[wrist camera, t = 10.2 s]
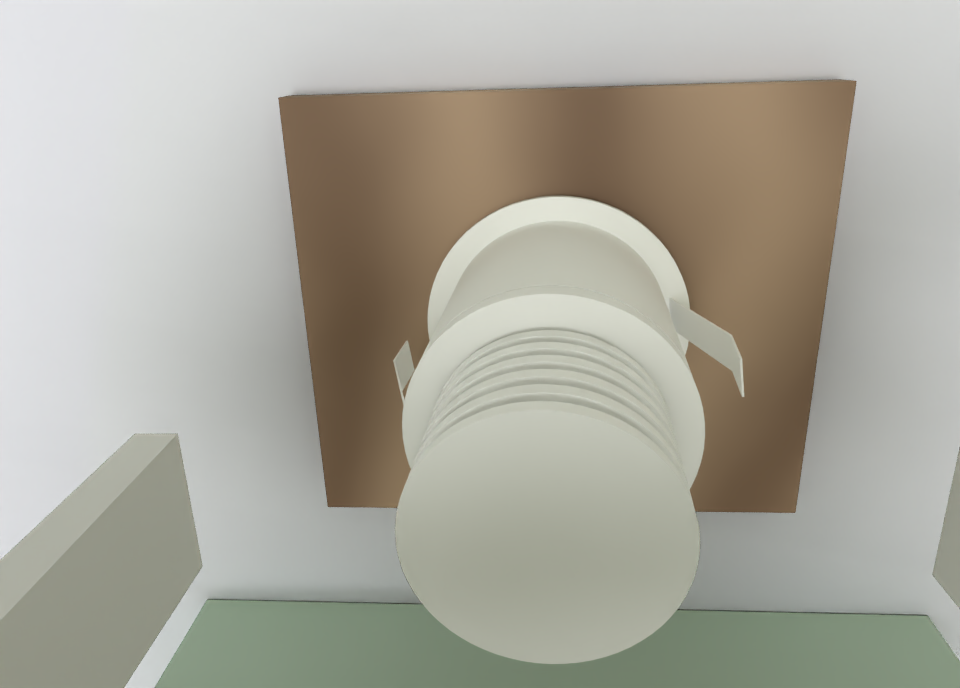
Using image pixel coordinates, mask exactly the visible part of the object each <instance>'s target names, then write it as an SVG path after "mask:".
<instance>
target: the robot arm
mask: <svg viewBox="0 0 960 688" xmlns="http://www.w3.org/2000/svg"><path fill="white" fill-rule="evenodd" d="M201 568H202V561H201V556H200V550H199V545H198V540H197V534H196V529H195V524H194V518H193V513H192V508H191V502H190V497H189V492H188V486H187V481H186V476H185V470H184V465H183V460H182V454H181V449H180V444H179V438H178V434H134V435H133V436H132V437H131V438H130V439H129V440H128V441H127V442H126V443H124V444H123V445H122V446H121V447H120V448H119V449H118V450H117V451H116V452H115V453H114V454H113V455H112V456H111V457H110V458H109V459H107V460H106V461H105V462H104V463H103V464H102V465H101V466H100V467H99V468H98V469H97V470H96V471H95V472H94V473H93V474H91V475H90V476H89V477H88V478H87V479H86V480H85V481H84V482H83V483H82V484H81V485H80V486H79V487H78V488H77V489H76V490H74V491H73V492H72V493H71V494H70V495H69V496H68V497H67V498H66V499H65V500H64V501H63V502H62V503H61V504H60V505H58V506H57V507H56V508H55V509H54V510H53V511H52V512H51V513H50V514H49V515H48V516H47V517H46V518H45V519H44V520H43V521H41V522H40V523H39V524H38V525H37V526H36V527H35V528H34V529H33V530H32V531H31V532H30V533H29V534H28V535H27V536H25V537H24V538H23V539H22V540H21V541H20V542H19V543H18V544H17V545H16V546H15V547H14V548H13V549H12V550H11V551H9V552H8V553H7V554H6V555H5V556H4V557H3V558H2V559H1V560H0V688H124V687H125V685H126V684H127V682H128V681H129V679H130V678H131V676H132V675H133V673H134V671H135V670H136V668H137V667H138V665H139V664H140V662H141V661H142V659H143V658H144V656H145V654H146V653H147V651H148V650H149V648H150V647H151V645H152V644H153V642H154V641H155V639H156V637H157V636H158V634H159V633H160V631H161V630H162V628H163V627H164V625H165V624H166V622H167V620H168V619H169V617H170V616H171V614H172V613H173V611H174V610H175V608H176V607H177V605H178V603H179V602H180V600H181V599H182V597H183V596H184V594H185V593H186V591H187V590H188V588H189V586H190V585H191V583H192V582H193V580H194V579H195V577H196V576H197V574H198V573H199V571H200V569H201ZM932 575H933V576H934V577H935V579H936V580H937V581H938V582H939V584H940V585H941V586H942V587H943V589H944V590H945V591H946V592H947V594H948V595H949V596H950V597H951V599H952V600H953V601H954V602H955V604H956V605H957V606H958V607H959V609H960V448H959V453H958V458H957V462H956V467H955V472H954V476H953V481H952V486H951V490H950V495H949V500H948V504H947V509H946V514H945V518H944V523H943V528H942V532H941V537H940V542H939V546H938V551H937V556H936V560H935V565H934V570H933V574H932Z"/></svg>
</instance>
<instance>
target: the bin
mask: <svg viewBox="0 0 960 688" xmlns="http://www.w3.org/2000/svg"><path fill="white" fill-rule="evenodd" d="M155 688H960V661H959V660H958V658H957V657H956V656H955V654H954V653H953V651H952V650H951V648H950V647H949V646H948V644H947V643H946V641H945V640H944V638H943V637H942V636H941V634H940V633H939V631H938V630H937V628H936V627H935V625H934V624H933V623H932V621H931V620H930V618H929V617H928V616H916V615H872V614H827V613H783V612H738V611H693V610H676V612H675V613H674V614H673V615H672V616H671V617H670V619H669V620H668V621H667V622H666V623H665V624H664V625H663V626H661V627H660V628H659V629H658V630H656V631H655V632H654V633H653V634H651V635H650V636H648V637H647V638H645V639H644V640H642V641H641V642H639V643H637V644H635V645H633V646H632V647H630V648H627V649H625V650H623V651H621V652H618V653H616V654H613V655H610V656H607V657H603V658H599V659H595V660H591V661H585V662H579V663H569V664H542V663H532V662H525V661H520V660H515V659H511V658H507V657H504V656H500V655H497V654H494V653H491V652H489V651H486V650H484V649H481V648H479V647H477V646H475V645H473V644H471V643H469V642H467V641H466V640H464V639H462V638H461V637H459V636H457V635H456V634H455V633H453V632H452V631H450V630H449V629H447V628H446V627H445V626H444V625H443V624H441V623H440V622H439V621H438V620H437V619H436V618H435V617H434V616H433V615H432V614H431V613H430V612H429V611H428V610H427V609H426V608H425V607H424V605H423V604H381V603H337V602H292V601H247V600H207V601H206V603H205V604H204V606H203V608H202V609H201V611H200V613H199V614H198V616H197V618H196V619H195V621H194V623H193V624H192V626H191V628H190V629H189V631H188V633H187V634H186V636H185V638H184V639H183V641H182V643H181V644H180V646H179V648H178V649H177V651H176V653H175V654H174V656H173V658H172V659H171V661H170V663H169V664H168V666H167V668H166V669H165V671H164V673H163V674H162V676H161V678H160V679H159V681H158V683H157V684H156V686H155Z"/></svg>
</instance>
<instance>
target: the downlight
mask: <svg viewBox="0 0 960 688" xmlns="http://www.w3.org/2000/svg"><path fill="white" fill-rule="evenodd" d="M428 334H429V340H430V341H429V343H428V345H427V347H426V349H425V351H424V353H423V355H422V357H421V359H420V362H419V364H418V366H417V368H416V370H415V371H414V366H413V361H412V357H411V352H410V348H409V343H408V341H406V342H405V343H404V345H403V346H402V348H401V349H400V351H399V352H398V354H397V355H396V357H395V358H394V360H393V362H394V366H395V371H396V375H397V379H398V384H399V388H400V392H401V397H402V401H403V405H404V406H403V413H402V433H403V442H404V448H405V453H406V456H407V460H408V463H409V466H410V468H411V470H410V473H409V476H408V479H407V481H406V484H405V486H404V489H403V491H402V494H401V497H400V500H399V504H398V507H397V513H396V520H395V540H396V548H397V553H398V558H399V561H400V564H401V568H402V570H403V573H404V575H405V577H406V579H407V581H408V583H409V585H410V587H411V589H412V590H413V592H414V593H415V595H416V596H417V598H418V599H419V601H420V602H421V603H422V604H423V605H424V607H425V608H426V609H427V610H428V611H429V612H430V613H431V614H432V615H433V616H434V617H435V618H436V619H437V620H438V621H439V622H440V623H441V624H443V625H444V626H445V627H446V628H447V629H449V630H450V631H452V632H453V633H455V634H456V635H457V636H459V637H461V638H462V639H464V640H466V641H467V642H469V643H471V644H473V645H475V646H477V647H479V648H481V649H484V650H486V651H489V652H491V653H494V654H497V655H500V656H504V657H507V658H511V659H515V660H520V661H525V662H532V663H542V664H569V663H579V662H585V661H591V660H595V659H599V658H603V657H607V656H610V655H613V654H616V653H618V652H621V651H623V650H625V649H627V648H630V647H632V646H633V645H635V644H637V643H639V642H641V641H642V640H644V639H645V638H647V637H648V636H650V635H651V634H653V633H654V632H655V631H656V630H658V629H659V628H660V627H661V626H663V625H664V624H665V623H666V622H667V621H668V620H669V619H670V617H671V616H672V615H673V614H674V613H675V612H676V610H677V609H678V608H679V607H680V605H681V604H682V602H683V600H684V599H685V597H686V596H687V594H688V592H689V590H690V588H691V585H692V583H693V580H694V577H695V575H696V571H697V567H698V562H699V555H700V532H699V525H698V520H697V516H696V512H695V508H694V505H693V501H692V497H691V493H690V488H691V487H692V484H693V482H694V480H695V478H696V476H697V473H698V470H699V467H700V464H701V460H702V455H703V451H704V442H705V419H704V412H703V406H702V403H701V399H700V395H699V392H698V389H697V387H696V384H695V382H694V379H693V376H692V373H691V371H690V368H689V365H688V362H687V360H686V357H685V354H686V351H687V348H688V342H689V341H690V342H691V343H693V344H694V345H695V346H697V347H698V348H700V349H701V350H703V351H704V352H705V353H707V354H708V355H710V356H711V357H713V358H714V359H715V360H717V361H718V362H720V363H721V364H723V365H724V366H725V367H727V368H728V369H730V370H731V371H732V372H733V375H734V377H735V380H736V383H737V385H738V388H739V391H740V393H741V396H742V397H744V382H743V365H742V357H741V355H740V352H739V350H738V348H737V345H736V343H735V341H734V338H733V336H732V335H731V334H730V333H728V332H726V331H725V330H723V329H721V328H720V327H718V326H717V325H715V324H713V323H712V322H710V321H708V320H707V319H705V318H703V317H702V316H700V315H698V314H697V313H695V312H694V311H692V310H690V305H689V298H688V294H687V290H686V286H685V283H684V281H683V278H682V275H681V273H680V271H679V269H678V267H677V265H676V263H675V261H674V259H673V258H672V256H671V254H670V253H669V251H668V250H667V249H666V247H665V246H664V245H663V244H662V242H661V241H660V240H659V239H658V238H657V237H656V236H655V235H654V234H653V233H652V232H651V231H650V230H649V229H648V228H647V227H645V226H644V225H643V224H642V223H641V222H639V221H638V220H636V219H635V218H633V217H632V216H630V215H629V214H627V213H625V212H623V211H621V210H619V209H617V208H615V207H612V206H610V205H607V204H605V203H602V202H598V201H595V200H592V199H586V198H581V197H573V196H544V197H536V198H531V199H526V200H522V201H519V202H516V203H513V204H510V205H508V206H505V207H503V208H501V209H498V210H497V211H495V212H493V213H491V214H489V215H487V216H486V217H484V218H483V219H482V220H480V221H479V222H477V223H476V224H475V225H474V226H472V227H471V228H470V229H469V230H468V231H466V233H465V234H464V235H463V236H462V237H461V238H460V239H459V240H458V241H457V242H456V243H455V245H454V246H453V247H452V249H451V250H450V251H449V253H448V254H447V256H446V258H445V259H444V261H443V262H442V265H441V267H440V269H439V271H438V273H437V275H436V278H435V280H434V283H433V286H432V290H431V294H430V299H429V305H428ZM413 372H414V373H413ZM412 374H413V375H412ZM411 375H412V378H411V380H410V383H409V386H408V388H407V392H406V396H405V400H404V396H403V392H402V391H403V389H404V388H405V386H406V384H407V382H408V381H409V379H410V377H411Z"/></svg>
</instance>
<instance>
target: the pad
mask: <svg viewBox="0 0 960 688" xmlns="http://www.w3.org/2000/svg"><path fill="white" fill-rule="evenodd" d="M855 88H856V81H851V80H807V81H773V82H739V83H704V84H670V85H636V86H601V87H567V88H533V89H498V90H464V91H430V92H395V93H361V94H327V95H292V96H285V97H280V98H278V99H279V107H280V115H281V123H282V132H283V140H284V148H285V156H286V165H287V173H288V181H289V189H290V198H291V206H292V214H293V222H294V231H295V239H296V247H297V256H298V264H299V272H300V280H301V289H302V297H303V305H304V313H305V322H306V330H307V338H308V346H309V355H310V363H311V371H312V379H313V388H314V396H315V404H316V412H317V421H318V429H319V437H320V446H321V454H322V462H323V470H324V479H325V487H326V495H327V503H328V507H380V508H397V507H398V504H399V500H400V497H401V494H402V491H403V489H404V486H405V484H406V481H407V479H408V476H409V473H410V470H411V468H410V466H409V463H408V460H407V456H406V453H405V448H404V442H403V433H402V413H403V406H404V405H403V401H402V397H401V392H400V388H399V384H398V379H397V375H396V371H395V366H394V362H393V360H394V358H395V357H396V355H397V354H398V352H399V351H400V349H401V348H402V346H403V345H404V343H405V342H406V341H408V343H409V348H410V352H411V357H412V361H413V366H414V371H415V370H416V368H417V366H418V364H419V362H420V359H421V357H422V355H423V353H424V351H425V349H426V347H427V345H428V343H429V341H430V340H429V334H428V305H429V299H430V294H431V290H432V286H433V283H434V280H435V278H436V275H437V273H438V271H439V269H440V267H441V265H442V262H443V261H444V259H445V258H446V256H447V254H448V253H449V251H450V250H451V249H452V247H453V246H454V245H455V243H456V242H457V241H458V240H459V239H460V238H461V237H462V236H463V235H464V234H465V233H466V231H468V230H469V229H470V228H471V227H472V226H474V225H475V224H476V223H477V222H479V221H480V220H482V219H483V218H484V217H486V216H487V215H489V214H491V213H493V212H495V211H497V210H498V209H501V208H503V207H505V206H508V205H510V204H513V203H516V202H519V201H522V200H526V199H531V198H536V197H544V196H573V197H581V198H586V199H592V200H595V201H598V202H602V203H605V204H607V205H610V206H612V207H615V208H617V209H619V210H621V211H623V212H625V213H627V214H629V215H630V216H632V217H633V218H635V219H636V220H638V221H639V222H641V223H642V224H643V225H644V226H645V227H647V228H648V229H649V230H650V231H651V232H652V233H653V234H654V235H655V236H656V237H657V238H658V239H659V240H660V241H661V242H662V244H663V245H664V246H665V247H666V249H667V250H668V251H669V253H670V254H671V256H672V258H673V259H674V261H675V263H676V265H677V267H678V269H679V271H680V273H681V275H682V278H683V281H684V283H685V286H686V290H687V294H688V298H689V305H690V310H692V311H694V312H695V313H697V314H698V315H700V316H702V317H703V318H705V319H707V320H708V321H710V322H712V323H713V324H715V325H717V326H718V327H720V328H721V329H723V330H725V331H726V332H728V333H730V334H731V335H732V336H733V338H734V341H735V343H736V345H737V348H738V350H739V352H740V355H741V357H742V365H743V382H744V397H742V396H741V393H740V391H739V388H738V385H737V383H736V380H735V377H734V375H733V372H732V371H731V370H730V369H728V368H727V367H725V366H724V365H723V364H721V363H720V362H718V361H717V360H715V359H714V358H713V357H711V356H710V355H708V354H707V353H705V352H704V351H703V350H701V349H700V348H698V347H697V346H695V345H694V344H693V343H691V342H690V341H689V342H688V348H687V351H686V354H685V357H686V360H687V362H688V365H689V368H690V371H691V373H692V376H693V379H694V382H695V384H696V387H697V389H698V392H699V395H700V399H701V403H702V406H703V412H704V419H705V442H704V451H703V455H702V460H701V464H700V467H699V470H698V473H697V476H696V478H695V480H694V482H693V484H692V487H691V488H690V493H691V497H692V501H693V505H694V508H695V512H773V513H795V512H796V505H797V497H798V490H799V483H800V476H801V469H802V462H803V455H804V448H805V441H806V434H807V427H808V420H809V413H810V406H811V399H812V392H813V384H814V377H815V370H816V363H817V356H818V349H819V342H820V335H821V328H822V321H823V314H824V307H825V300H826V293H827V286H828V279H829V272H830V264H831V257H832V250H833V243H834V236H835V229H836V222H837V215H838V208H839V201H840V194H841V187H842V180H843V173H844V166H845V159H846V151H847V144H848V137H849V130H850V123H851V116H852V109H853V102H854V95H855ZM413 373H414V372H413ZM412 375H413V374H412ZM412 375H411V377H410V379H409V381H408V382H407V384H406V386H405V388H404V389H403V391H402V392H403V396H404V400H405V396H406V392H407V388H408V386H409V383H410V380H411V378H412Z"/></svg>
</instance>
